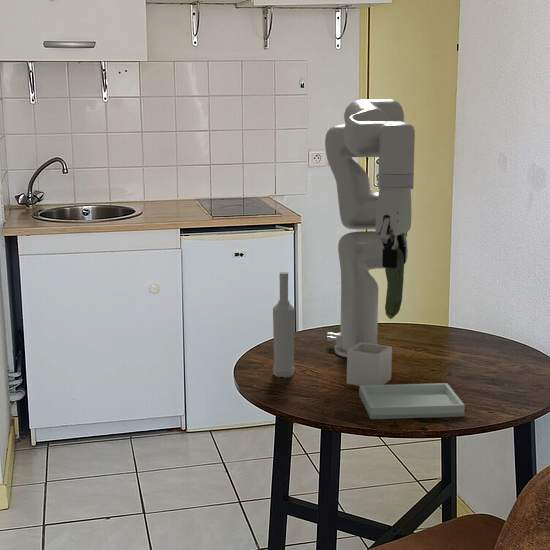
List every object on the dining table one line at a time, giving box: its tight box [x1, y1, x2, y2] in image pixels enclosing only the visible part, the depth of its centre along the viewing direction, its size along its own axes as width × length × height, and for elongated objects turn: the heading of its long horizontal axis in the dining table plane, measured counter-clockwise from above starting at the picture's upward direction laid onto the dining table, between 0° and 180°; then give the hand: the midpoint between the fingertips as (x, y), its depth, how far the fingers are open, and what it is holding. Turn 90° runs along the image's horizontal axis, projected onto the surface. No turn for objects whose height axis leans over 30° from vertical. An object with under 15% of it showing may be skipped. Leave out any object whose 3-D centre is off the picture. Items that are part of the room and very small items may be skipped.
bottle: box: [272, 271, 296, 379], centre depth 216 cm, size 5×5×25 cm
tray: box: [358, 382, 466, 420], centre depth 198 cm, size 20×14×2 cm
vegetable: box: [384, 232, 405, 320], centre depth 199 cm, size 4×4×20 cm
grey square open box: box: [346, 342, 393, 387], centre depth 213 cm, size 8×8×8 cm
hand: (394, 264), depth 199 cm, fingers closed on vegetable, 4 cm apart
